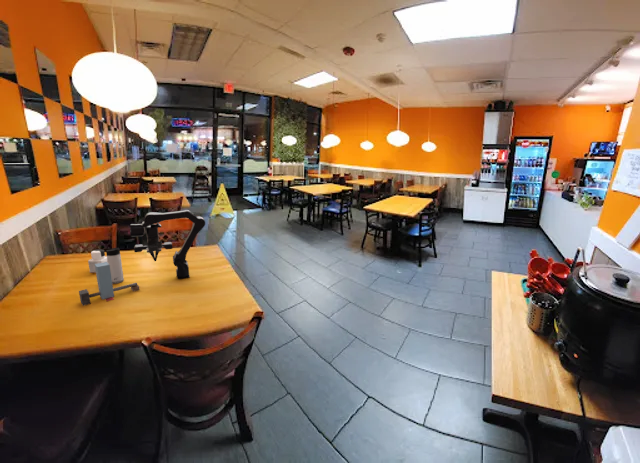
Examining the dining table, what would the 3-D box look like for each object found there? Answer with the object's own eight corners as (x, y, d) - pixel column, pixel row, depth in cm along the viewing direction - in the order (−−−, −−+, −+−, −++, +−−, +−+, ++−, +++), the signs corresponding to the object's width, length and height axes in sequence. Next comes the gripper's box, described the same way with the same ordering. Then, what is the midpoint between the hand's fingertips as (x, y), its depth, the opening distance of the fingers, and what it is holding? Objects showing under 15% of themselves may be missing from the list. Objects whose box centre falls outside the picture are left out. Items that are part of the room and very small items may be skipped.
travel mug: (117, 284, 161) (112, 250, 156) (107, 282, 163) (102, 249, 157) (127, 279, 167) (122, 247, 162) (117, 278, 169) (112, 246, 163)
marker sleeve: (111, 293, 151) (106, 261, 146) (114, 296, 148) (109, 264, 143) (99, 296, 147) (94, 264, 143) (102, 299, 144) (97, 267, 139)
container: (98, 267, 182) (94, 248, 178) (111, 267, 183) (108, 248, 179) (89, 272, 174) (86, 252, 171) (103, 272, 175) (100, 252, 172)
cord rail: (135, 285, 161) (134, 275, 160) (141, 291, 155) (140, 281, 153) (79, 300, 143) (77, 289, 142) (84, 307, 137) (82, 296, 135)
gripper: (131, 240, 151) (135, 268, 155) (171, 237, 160) (173, 263, 164) (133, 235, 160) (136, 261, 164) (171, 232, 169) (173, 257, 173)
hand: (155, 261), depth 166 cm, fingers closed
